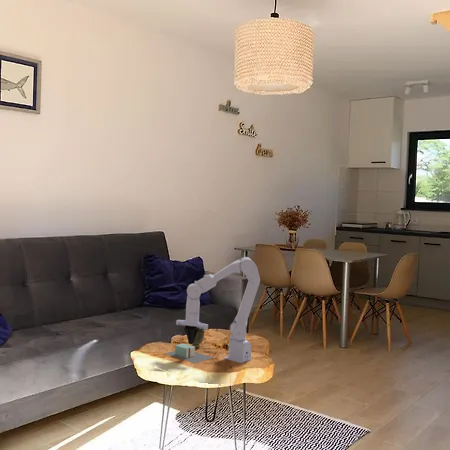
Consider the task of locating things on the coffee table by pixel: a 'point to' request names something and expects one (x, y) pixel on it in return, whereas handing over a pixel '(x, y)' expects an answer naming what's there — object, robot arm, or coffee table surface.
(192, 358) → the mat
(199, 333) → the cup
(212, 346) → the coffee table surface
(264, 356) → the coffee table surface
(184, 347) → the block
